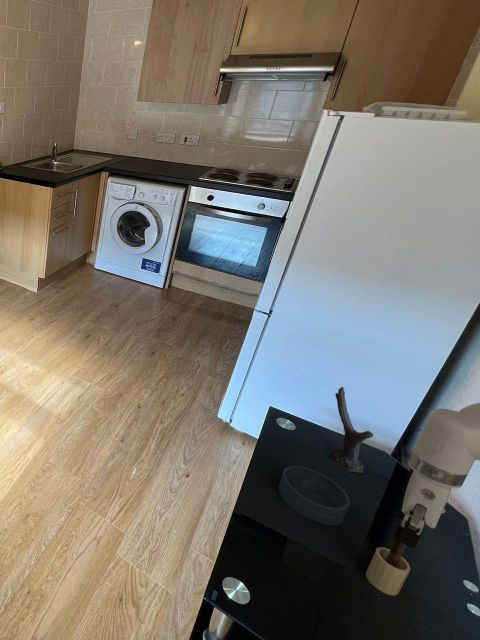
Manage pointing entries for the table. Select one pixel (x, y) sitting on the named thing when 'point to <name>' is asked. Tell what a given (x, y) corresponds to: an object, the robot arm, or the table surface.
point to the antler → (349, 439)
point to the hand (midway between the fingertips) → (406, 531)
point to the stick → (396, 551)
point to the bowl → (313, 495)
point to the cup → (386, 572)
